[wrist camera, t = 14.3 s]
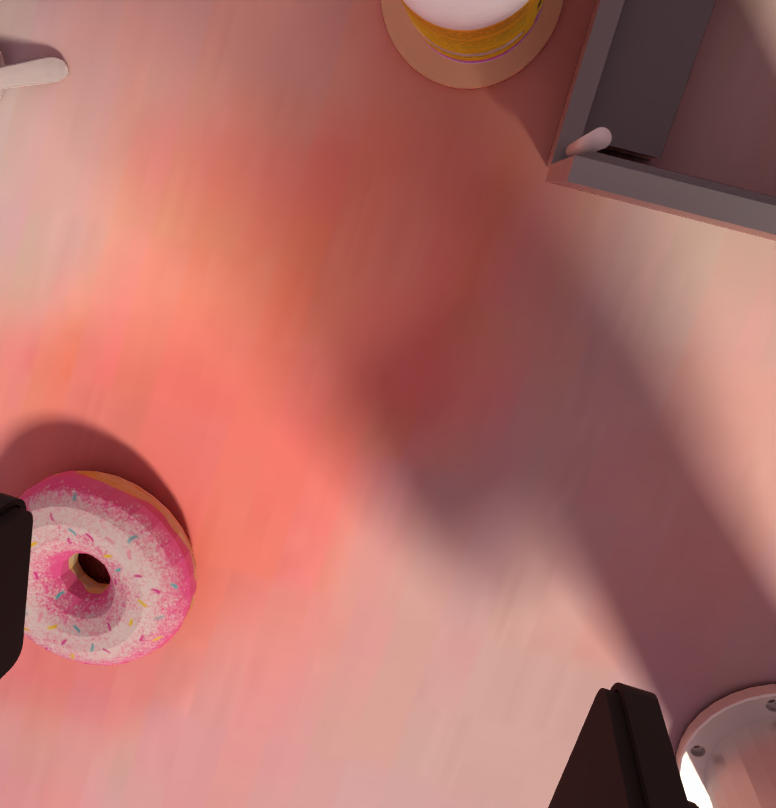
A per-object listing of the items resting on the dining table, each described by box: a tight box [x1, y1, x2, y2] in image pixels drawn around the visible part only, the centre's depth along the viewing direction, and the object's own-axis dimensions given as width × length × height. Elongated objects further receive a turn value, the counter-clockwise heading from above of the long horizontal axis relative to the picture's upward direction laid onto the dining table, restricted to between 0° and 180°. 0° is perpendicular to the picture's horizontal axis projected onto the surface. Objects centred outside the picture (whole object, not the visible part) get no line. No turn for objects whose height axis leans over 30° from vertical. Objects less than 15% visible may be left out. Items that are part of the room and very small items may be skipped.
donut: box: [18, 471, 196, 666], centre depth 46 cm, size 14×13×5 cm
